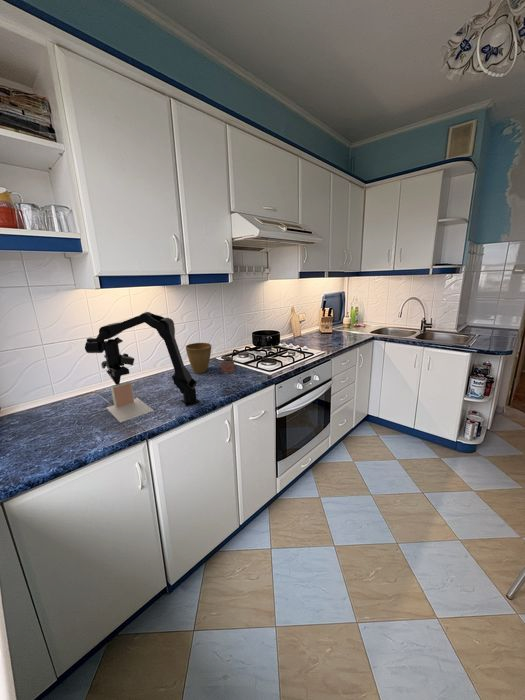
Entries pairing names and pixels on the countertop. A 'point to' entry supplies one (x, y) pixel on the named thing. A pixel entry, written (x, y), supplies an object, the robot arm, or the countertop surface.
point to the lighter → (227, 365)
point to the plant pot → (199, 356)
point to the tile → (122, 394)
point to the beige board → (130, 410)
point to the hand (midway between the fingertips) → (117, 385)
